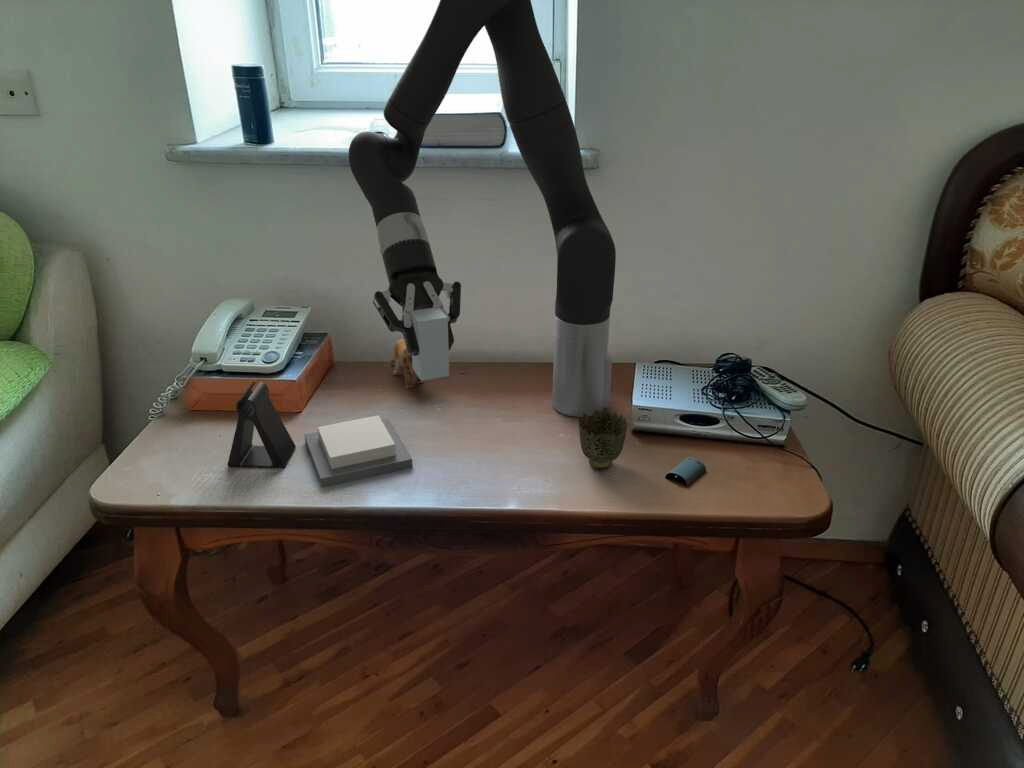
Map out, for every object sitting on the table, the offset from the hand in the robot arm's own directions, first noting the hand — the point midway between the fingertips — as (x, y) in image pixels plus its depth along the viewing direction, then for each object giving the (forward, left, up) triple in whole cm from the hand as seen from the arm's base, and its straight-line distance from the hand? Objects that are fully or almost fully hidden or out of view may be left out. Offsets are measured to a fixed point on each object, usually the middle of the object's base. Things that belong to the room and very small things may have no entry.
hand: (432, 350), depth 116 cm
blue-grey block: (0, -1, -4) cm, 4 cm away
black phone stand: (+26, -10, -18) cm, 33 cm away
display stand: (+12, -5, -18) cm, 22 cm away
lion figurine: (-4, -29, -18) cm, 34 cm away
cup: (-22, +13, -18) cm, 32 cm away
